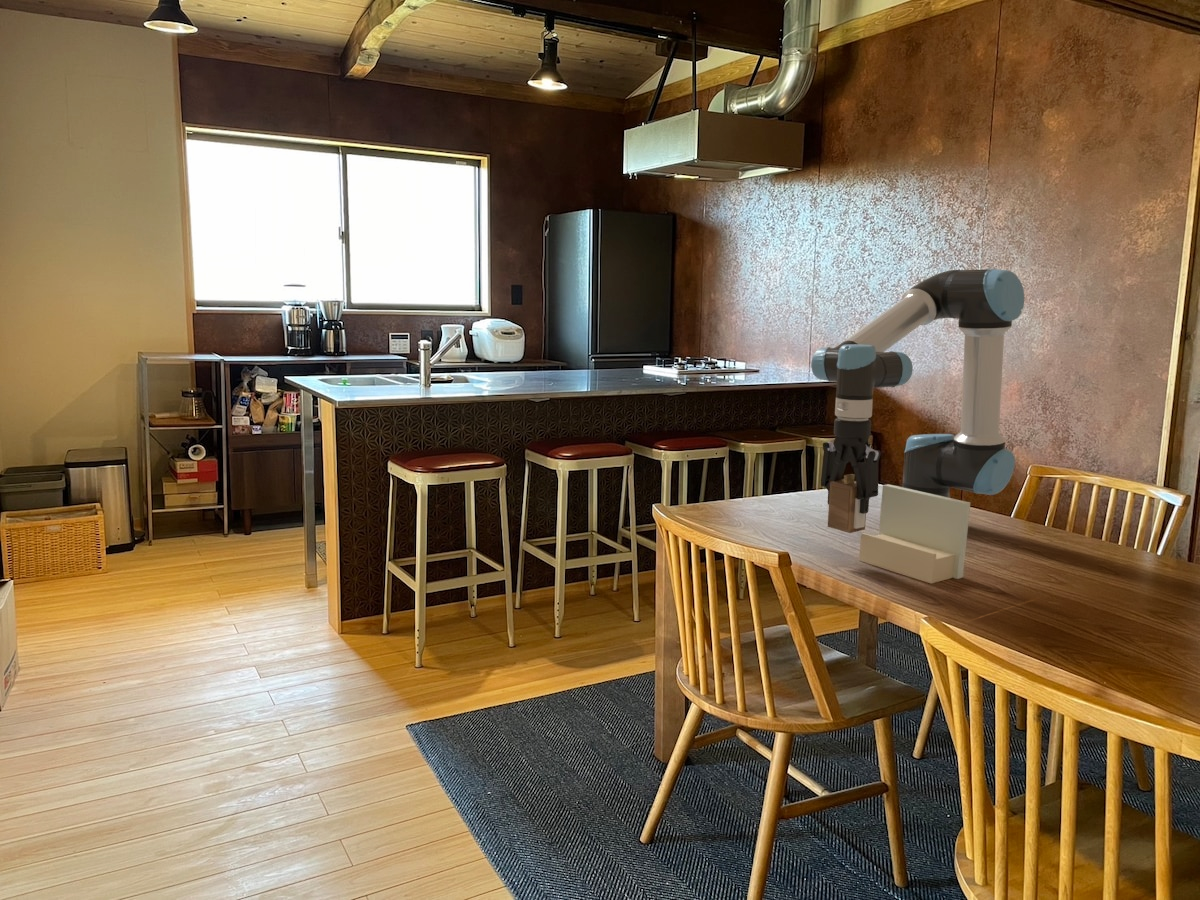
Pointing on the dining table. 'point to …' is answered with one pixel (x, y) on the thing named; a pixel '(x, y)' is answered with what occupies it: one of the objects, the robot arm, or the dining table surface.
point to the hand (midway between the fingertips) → (846, 523)
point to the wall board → (918, 535)
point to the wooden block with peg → (843, 504)
